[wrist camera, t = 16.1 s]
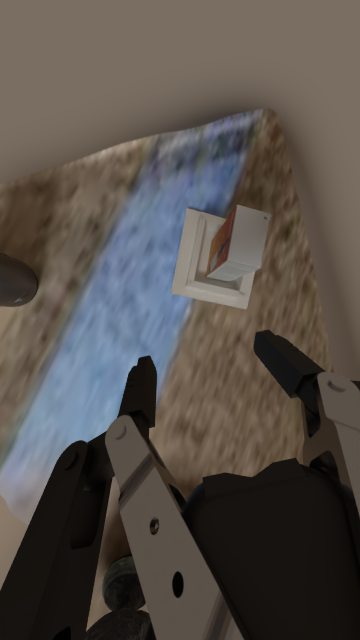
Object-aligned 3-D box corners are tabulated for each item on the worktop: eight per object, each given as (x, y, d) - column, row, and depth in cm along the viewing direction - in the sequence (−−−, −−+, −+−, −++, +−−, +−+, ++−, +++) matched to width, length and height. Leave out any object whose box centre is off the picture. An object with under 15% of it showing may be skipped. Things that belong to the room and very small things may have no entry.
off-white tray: (170, 293, 30) (171, 291, 26) (186, 211, 29) (189, 197, 25) (244, 309, 32) (253, 309, 28) (260, 233, 31) (273, 223, 27)
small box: (210, 241, 29) (237, 201, 18) (234, 246, 29) (273, 212, 19) (204, 278, 29) (226, 260, 19) (228, 282, 30) (262, 268, 19)
